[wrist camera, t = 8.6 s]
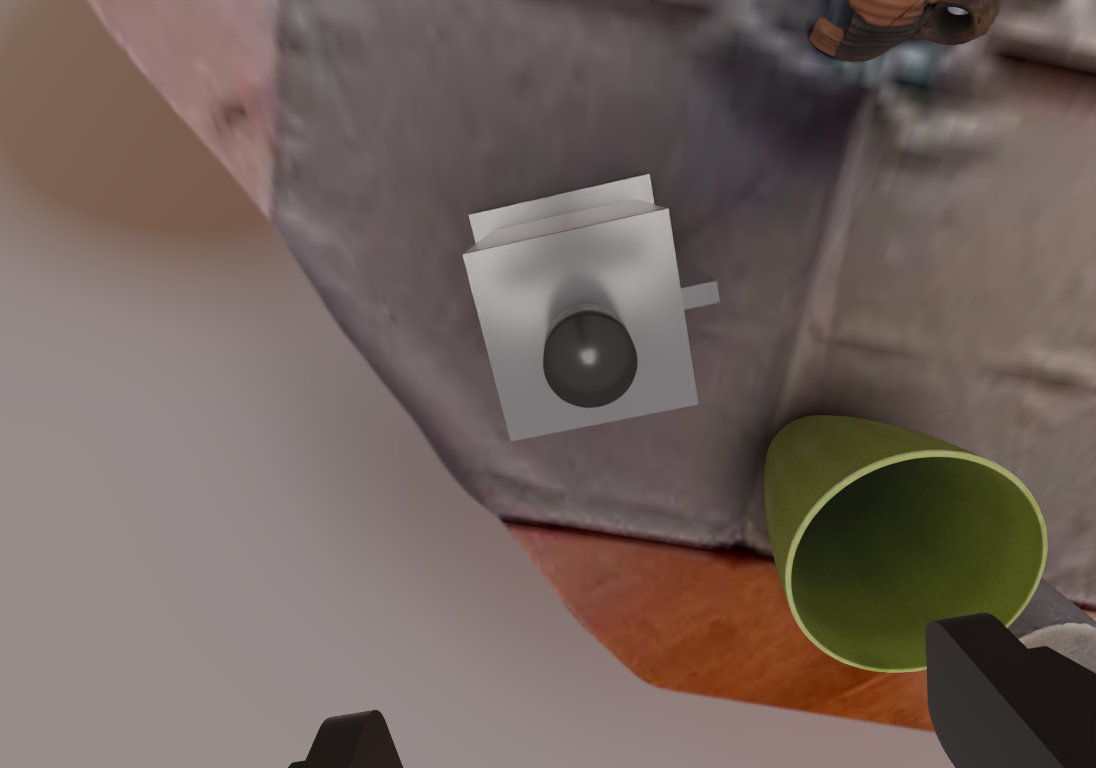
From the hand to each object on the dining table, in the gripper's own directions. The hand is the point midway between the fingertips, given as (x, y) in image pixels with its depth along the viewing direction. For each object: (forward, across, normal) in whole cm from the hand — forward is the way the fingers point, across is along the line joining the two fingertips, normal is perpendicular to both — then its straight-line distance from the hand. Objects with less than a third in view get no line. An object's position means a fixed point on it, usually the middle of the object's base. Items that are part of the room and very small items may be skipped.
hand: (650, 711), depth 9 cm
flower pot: (+40, -16, +18) cm, 47 cm away
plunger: (+37, 0, 0) cm, 37 cm away
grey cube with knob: (+40, 0, 0) cm, 40 cm away
